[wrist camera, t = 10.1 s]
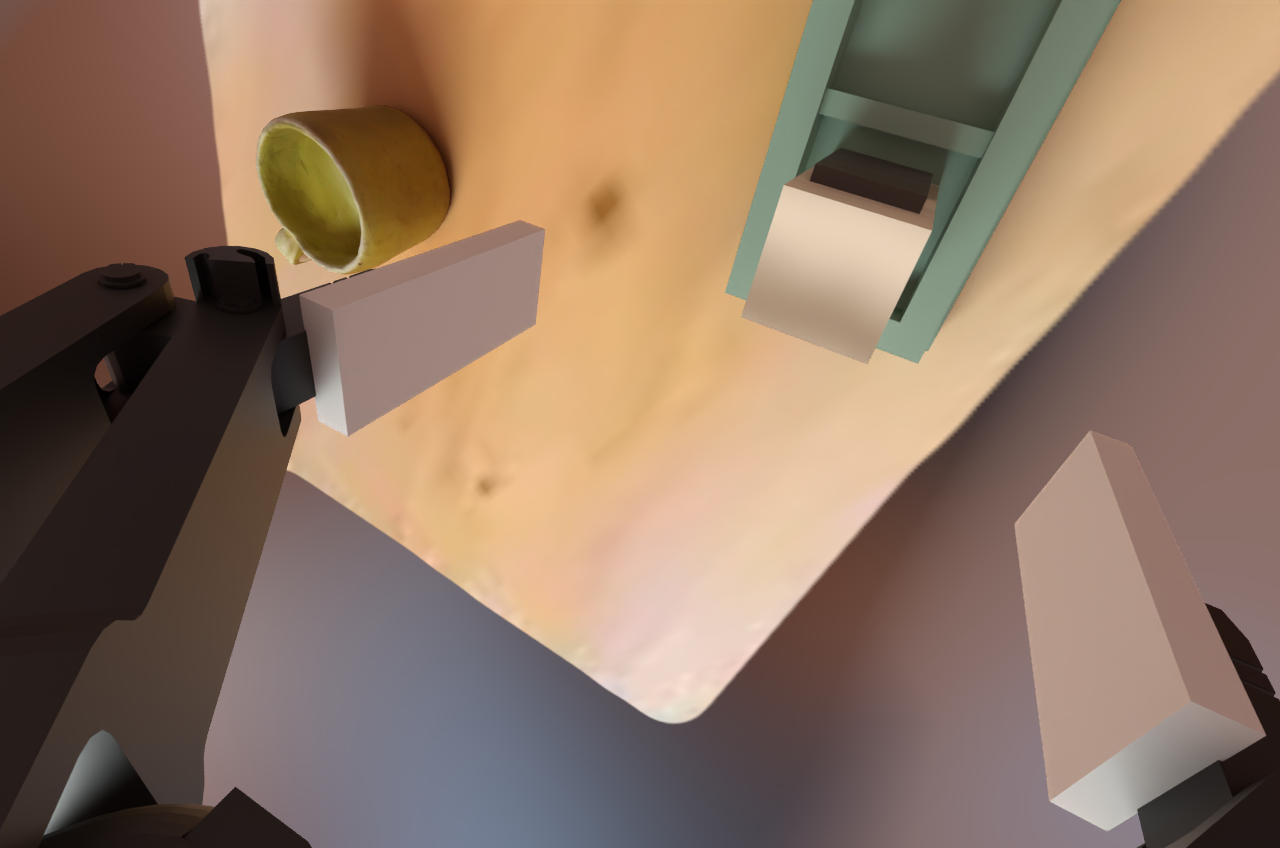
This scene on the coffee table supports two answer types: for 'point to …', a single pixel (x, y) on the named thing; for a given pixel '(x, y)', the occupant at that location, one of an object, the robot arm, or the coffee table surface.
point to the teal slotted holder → (927, 121)
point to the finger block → (842, 251)
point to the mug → (351, 185)
